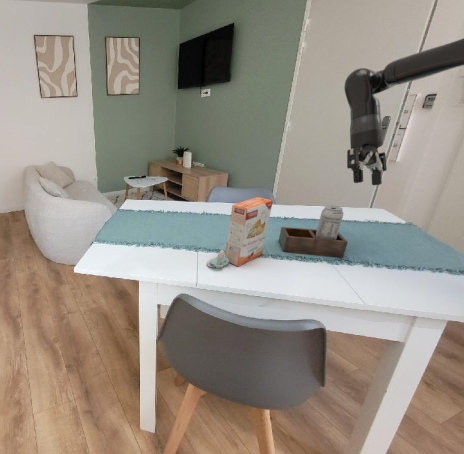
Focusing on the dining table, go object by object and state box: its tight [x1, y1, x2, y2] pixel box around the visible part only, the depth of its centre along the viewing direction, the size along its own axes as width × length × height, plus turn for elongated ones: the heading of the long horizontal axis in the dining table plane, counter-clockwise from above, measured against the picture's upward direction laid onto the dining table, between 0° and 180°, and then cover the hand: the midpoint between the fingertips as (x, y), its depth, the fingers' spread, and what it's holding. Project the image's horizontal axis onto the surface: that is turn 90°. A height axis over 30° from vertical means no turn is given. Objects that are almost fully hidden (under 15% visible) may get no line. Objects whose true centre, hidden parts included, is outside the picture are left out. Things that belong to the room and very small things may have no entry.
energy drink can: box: [315, 205, 344, 240], centre depth 102 cm, size 6×6×15 cm
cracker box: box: [224, 196, 274, 267], centre depth 99 cm, size 14×6×21 cm, turn 122°
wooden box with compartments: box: [278, 226, 349, 259], centre depth 105 cm, size 18×10×6 cm, turn 71°
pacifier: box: [206, 249, 229, 269], centre depth 98 cm, size 7×6×6 cm
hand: (367, 183), depth 90 cm, fingers open, 8 cm apart
